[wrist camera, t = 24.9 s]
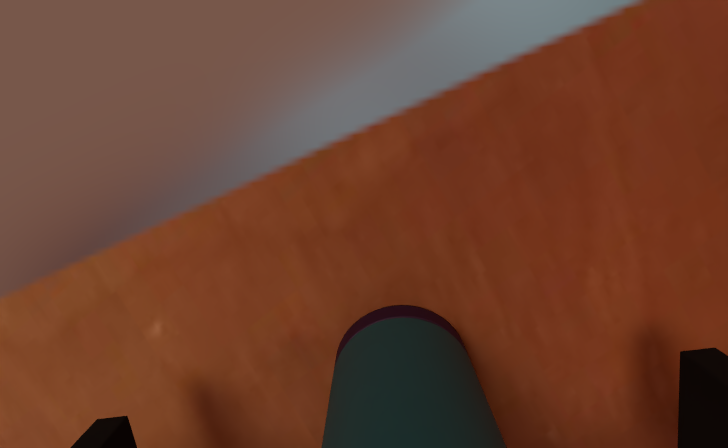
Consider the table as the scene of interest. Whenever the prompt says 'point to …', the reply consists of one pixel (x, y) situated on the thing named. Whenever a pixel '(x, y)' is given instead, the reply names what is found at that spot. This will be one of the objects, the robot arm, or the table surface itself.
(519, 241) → the table surface
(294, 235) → the table surface
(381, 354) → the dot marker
